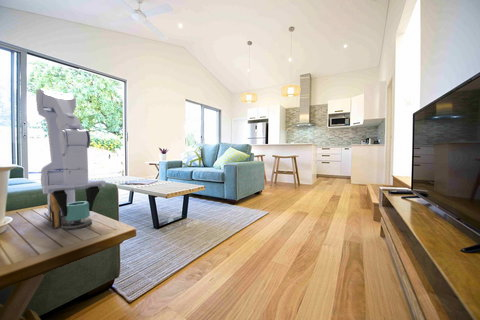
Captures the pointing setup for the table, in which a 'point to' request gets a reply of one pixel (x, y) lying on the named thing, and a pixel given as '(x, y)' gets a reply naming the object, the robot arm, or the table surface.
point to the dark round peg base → (76, 224)
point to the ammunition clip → (54, 212)
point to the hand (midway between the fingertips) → (77, 213)
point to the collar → (77, 210)
